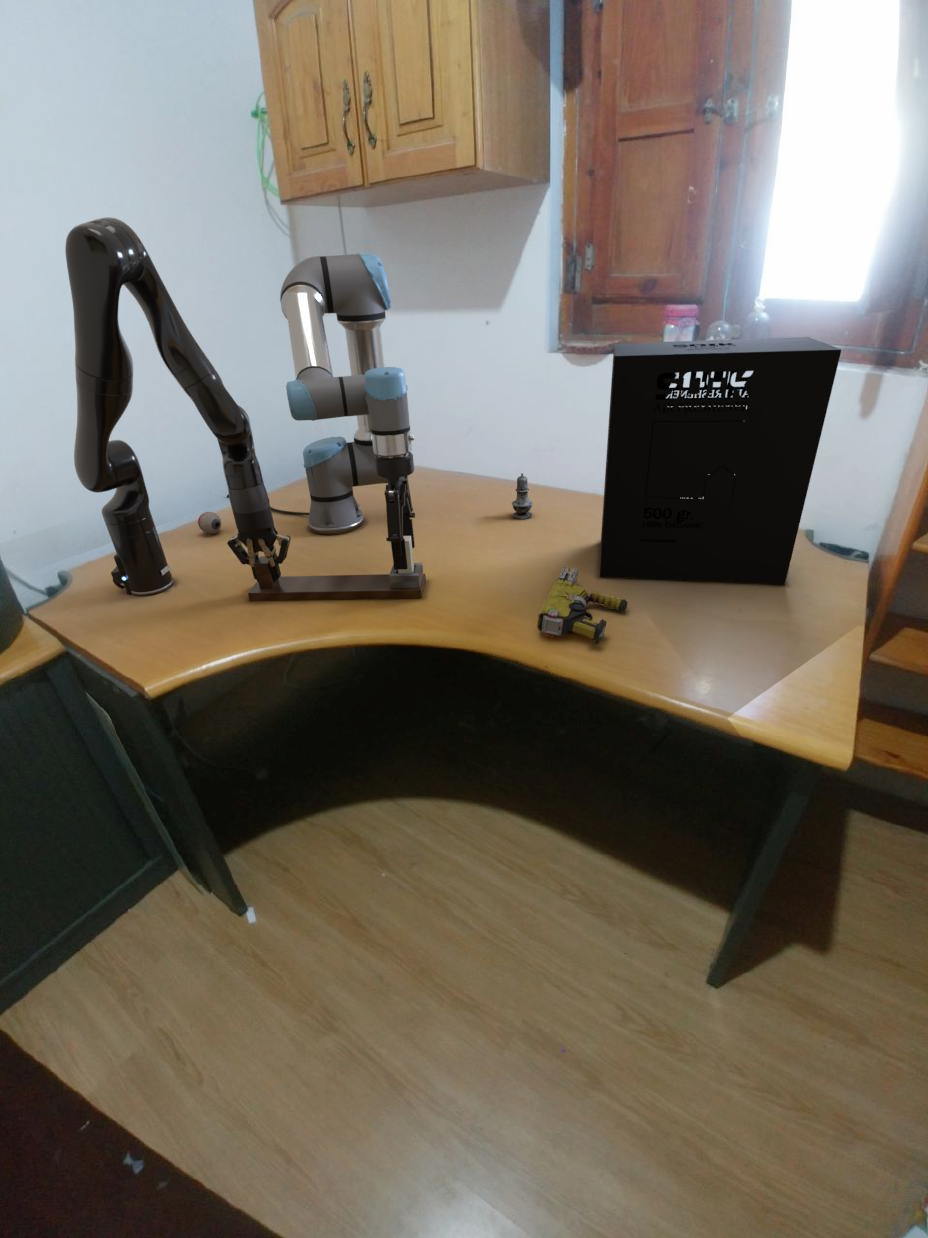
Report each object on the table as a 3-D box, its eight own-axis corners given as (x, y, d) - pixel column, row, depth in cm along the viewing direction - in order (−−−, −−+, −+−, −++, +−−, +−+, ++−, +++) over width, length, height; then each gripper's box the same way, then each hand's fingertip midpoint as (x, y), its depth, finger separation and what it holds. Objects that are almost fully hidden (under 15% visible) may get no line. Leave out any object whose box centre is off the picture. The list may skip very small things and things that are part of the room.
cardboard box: (763, 546, 142) (808, 336, 120) (784, 584, 125) (841, 349, 103) (600, 540, 150) (614, 343, 127) (599, 576, 133) (614, 355, 110)
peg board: (249, 601, 132) (241, 568, 128) (262, 584, 139) (254, 552, 135) (421, 598, 129) (418, 564, 125) (426, 581, 136) (422, 548, 132)
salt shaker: (531, 519, 165) (531, 476, 159) (510, 518, 166) (509, 476, 160) (533, 511, 170) (534, 469, 164) (513, 511, 171) (512, 469, 165)
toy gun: (633, 576, 125) (562, 563, 129) (620, 630, 105) (537, 613, 109) (629, 596, 128) (560, 583, 132) (616, 653, 108) (534, 635, 111)
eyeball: (211, 538, 165) (205, 517, 162) (196, 534, 168) (190, 514, 165) (229, 530, 169) (223, 510, 166) (214, 527, 172) (209, 507, 169)
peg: (399, 584, 130) (394, 541, 126) (401, 578, 133) (397, 535, 128) (413, 584, 130) (408, 540, 125) (415, 578, 133) (411, 535, 128)
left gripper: (210, 512, 122) (231, 588, 131) (277, 510, 121) (294, 587, 130) (225, 500, 129) (244, 573, 137) (289, 498, 127) (304, 572, 136)
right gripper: (403, 469, 107) (415, 581, 119) (419, 438, 127) (428, 536, 138) (362, 471, 108) (377, 581, 119) (384, 439, 128) (396, 537, 139)
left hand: (268, 579), depth 133 cm, fingers closed on peg board, 3 cm apart
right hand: (404, 557), depth 129 cm, fingers open, 10 cm apart
